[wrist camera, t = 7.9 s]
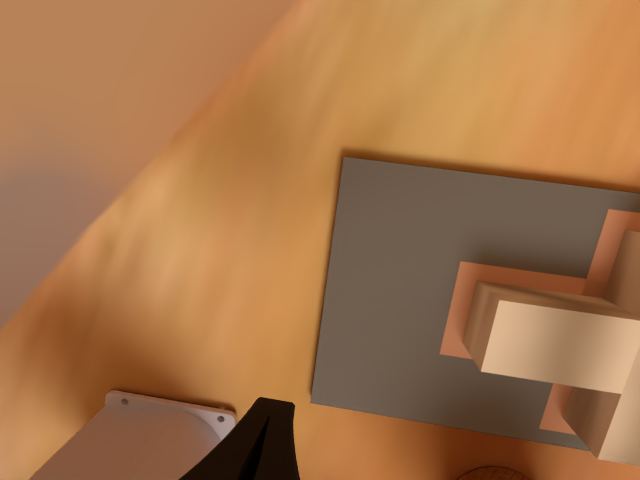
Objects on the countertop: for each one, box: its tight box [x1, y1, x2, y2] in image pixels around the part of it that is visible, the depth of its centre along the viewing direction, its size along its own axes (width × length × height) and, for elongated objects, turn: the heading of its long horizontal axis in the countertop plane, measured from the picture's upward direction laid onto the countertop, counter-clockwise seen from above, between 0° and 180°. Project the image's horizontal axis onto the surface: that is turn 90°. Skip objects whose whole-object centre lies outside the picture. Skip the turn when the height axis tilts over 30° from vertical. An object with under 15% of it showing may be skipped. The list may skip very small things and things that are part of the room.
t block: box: [462, 230, 640, 466], centre depth 18 cm, size 11×12×3 cm
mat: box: [310, 157, 640, 451], centre depth 20 cm, size 21×16×1 cm
